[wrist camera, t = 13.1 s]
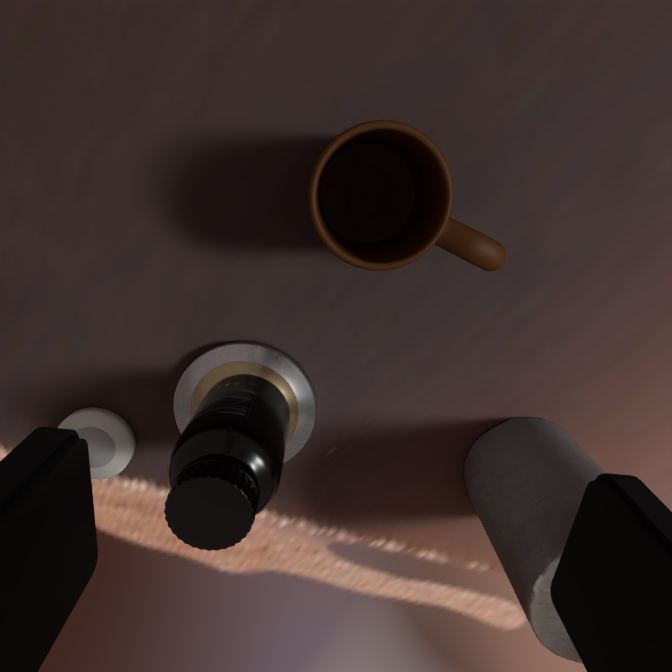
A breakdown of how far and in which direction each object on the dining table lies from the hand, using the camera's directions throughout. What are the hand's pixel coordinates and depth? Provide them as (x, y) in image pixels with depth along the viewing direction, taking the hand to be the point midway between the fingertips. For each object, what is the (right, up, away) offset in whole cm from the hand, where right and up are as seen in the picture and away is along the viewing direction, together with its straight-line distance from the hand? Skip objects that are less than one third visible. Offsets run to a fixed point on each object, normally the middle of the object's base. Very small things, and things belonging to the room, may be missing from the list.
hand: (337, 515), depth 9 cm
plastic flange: (-19, -5, +29) cm, 35 cm away
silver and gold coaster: (-7, -2, +28) cm, 29 cm away
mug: (+4, +12, +24) cm, 27 cm away
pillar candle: (+15, -8, +31) cm, 35 cm away
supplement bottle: (-7, -2, +27) cm, 28 cm away
